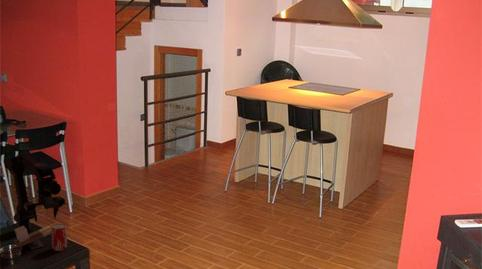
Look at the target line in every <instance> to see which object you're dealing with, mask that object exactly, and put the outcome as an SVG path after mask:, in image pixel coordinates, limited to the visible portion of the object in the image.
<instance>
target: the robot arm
mask: <svg viewBox="0 0 482 269" xmlns="http://www.w3.org/2000/svg"><path fill="white" fill-rule="evenodd" d="M6 167H7V169H8V170H7V171H8V173H10V174H11V175H12V177H13V182H14V186H15V192H16V198H17V201H18V202H17V205H16V209H15V210H16V212H15V214H14V216H12V217H13V221H14V222H16V223H18V224H17V226H18V227H17V228H19V227H21V226H24V227H25V228H26V229H27V232H28V233H29V232H33V229H32V228H31V222H30V220H33V219H34V221H35V223H37V222H38V218H37V217H38V216H37V210H36V208H38V207H42V206H43V209H45V210H49V209H52V210H53V218H54V219H56V218H57V215H58V211H59V209H60V208H61V207H63V205H66V199H65V198H63V197H62V196H56V195H58V194H60V192H61V190H62V186H61V184H60V183H58V181H57V180H56V178H57V177H56V174H55V172H54V170H53V169H52V168H53V167H51V166H50V165H49V164H47V163H43V162H39V161H37V160H36V159H35V158H33V157H32V156H30V155H29V153H26V152H24V153H19V154H17V155H16V156H14V157H12V158H10V159H8V161H7V162H6ZM26 167H27V168H29V169H30V170H31V171H32V172H33V176H35V181H37V194H38V195H37V197H38V199H37V202H36V203H35V202H33V201H29V198H28V192H27V187H26V182H25V177H24V173H25V170H26ZM52 195H54V196H55V197H54V196H52Z"/></svg>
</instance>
